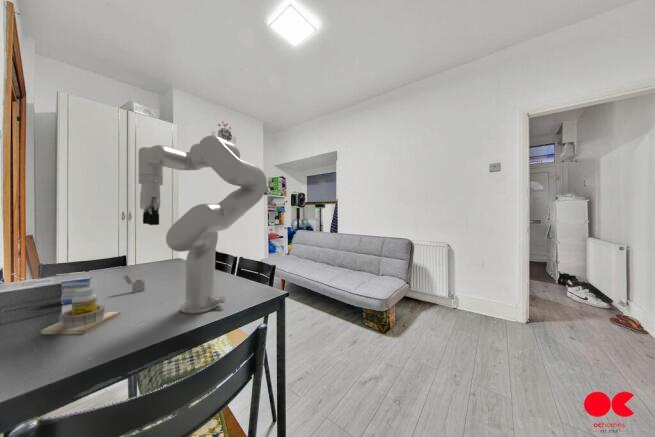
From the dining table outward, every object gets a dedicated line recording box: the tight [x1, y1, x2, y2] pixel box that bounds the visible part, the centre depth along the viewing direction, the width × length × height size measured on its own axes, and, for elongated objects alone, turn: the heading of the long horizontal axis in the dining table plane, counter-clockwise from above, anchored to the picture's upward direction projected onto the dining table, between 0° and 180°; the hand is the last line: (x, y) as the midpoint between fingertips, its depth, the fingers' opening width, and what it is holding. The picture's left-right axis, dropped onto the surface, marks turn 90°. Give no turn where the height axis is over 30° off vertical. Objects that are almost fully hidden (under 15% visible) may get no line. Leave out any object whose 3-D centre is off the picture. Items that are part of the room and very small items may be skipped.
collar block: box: [40, 304, 122, 335], centre depth 72 cm, size 12×12×4 cm
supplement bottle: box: [71, 286, 98, 316], centre depth 72 cm, size 5×5×10 cm
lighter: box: [122, 274, 146, 293], centre depth 100 cm, size 7×2×8 cm, turn 132°
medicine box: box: [60, 276, 92, 305], centre depth 90 cm, size 8×4×9 cm, turn 131°
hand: (150, 224), depth 90 cm, fingers open, 9 cm apart
